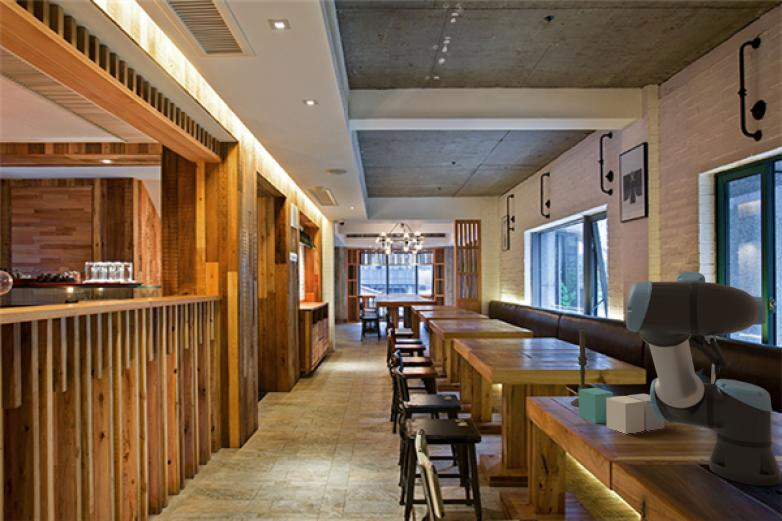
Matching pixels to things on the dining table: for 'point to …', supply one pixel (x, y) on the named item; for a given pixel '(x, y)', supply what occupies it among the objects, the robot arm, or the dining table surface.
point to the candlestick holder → (582, 363)
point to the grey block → (648, 413)
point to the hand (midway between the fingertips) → (688, 376)
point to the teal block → (593, 404)
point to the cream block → (625, 414)
